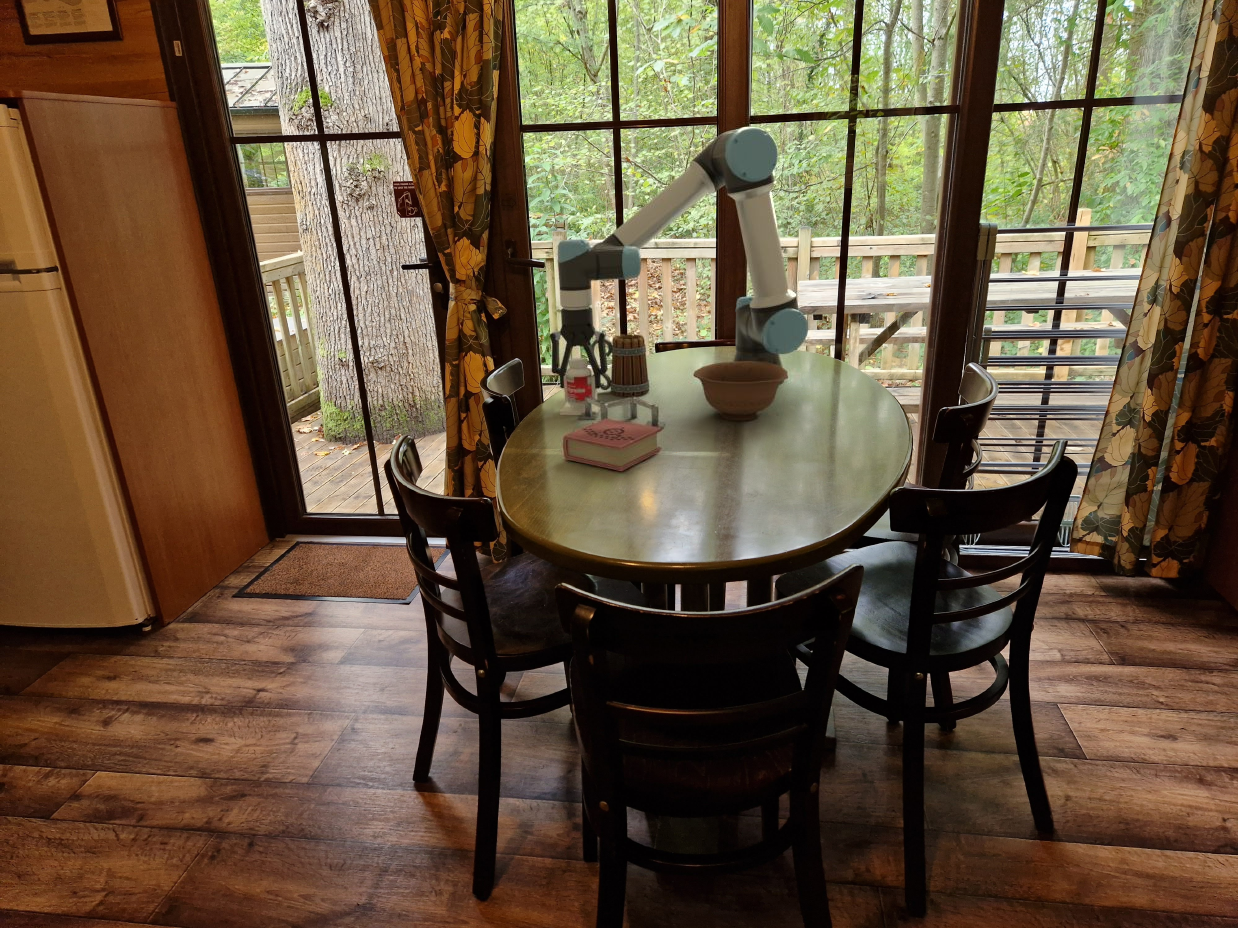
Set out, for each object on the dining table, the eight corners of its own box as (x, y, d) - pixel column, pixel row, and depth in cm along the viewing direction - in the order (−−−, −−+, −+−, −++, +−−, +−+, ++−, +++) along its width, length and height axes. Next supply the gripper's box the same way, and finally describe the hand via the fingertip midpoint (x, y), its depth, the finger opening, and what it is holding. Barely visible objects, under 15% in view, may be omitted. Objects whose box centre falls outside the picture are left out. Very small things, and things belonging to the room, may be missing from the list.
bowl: (804, 412, 187) (806, 367, 183) (752, 435, 172) (753, 386, 168) (728, 398, 201) (729, 356, 198) (674, 418, 186) (673, 373, 183)
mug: (650, 387, 215) (649, 333, 210) (648, 397, 206) (647, 340, 201) (594, 388, 217) (592, 334, 212) (589, 397, 207) (586, 341, 202)
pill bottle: (563, 406, 193) (560, 361, 189) (574, 399, 198) (572, 356, 194) (586, 408, 190) (584, 363, 186) (597, 401, 195) (595, 358, 192)
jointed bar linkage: (667, 415, 188) (667, 395, 187) (663, 429, 178) (662, 407, 177) (582, 414, 192) (581, 394, 190) (572, 427, 182) (571, 407, 180)
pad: (602, 405, 199) (602, 401, 199) (596, 415, 191) (595, 411, 190) (568, 405, 201) (567, 401, 200) (559, 415, 192) (559, 411, 192)
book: (603, 439, 174) (602, 417, 172) (661, 450, 165) (661, 428, 164) (562, 458, 163) (560, 435, 161) (621, 471, 154) (620, 446, 153)
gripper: (618, 304, 189) (621, 397, 197) (541, 305, 192) (547, 396, 200) (613, 309, 182) (616, 405, 190) (533, 310, 185) (540, 404, 193)
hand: (581, 400), depth 195 cm, fingers closed on pill bottle, 6 cm apart
